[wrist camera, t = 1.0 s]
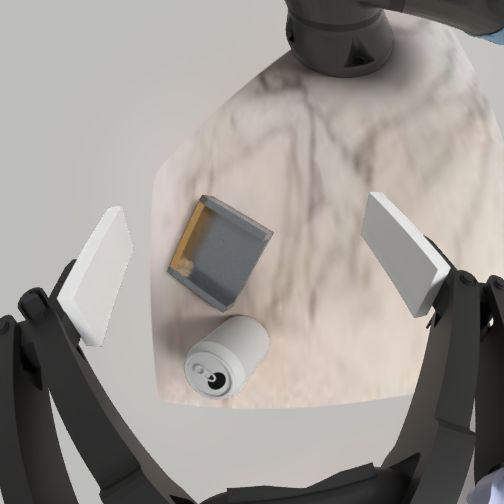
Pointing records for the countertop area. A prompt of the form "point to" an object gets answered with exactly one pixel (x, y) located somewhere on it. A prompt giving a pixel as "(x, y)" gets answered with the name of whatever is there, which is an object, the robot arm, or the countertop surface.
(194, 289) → the open rectangular tray
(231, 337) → the can
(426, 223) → the countertop surface
